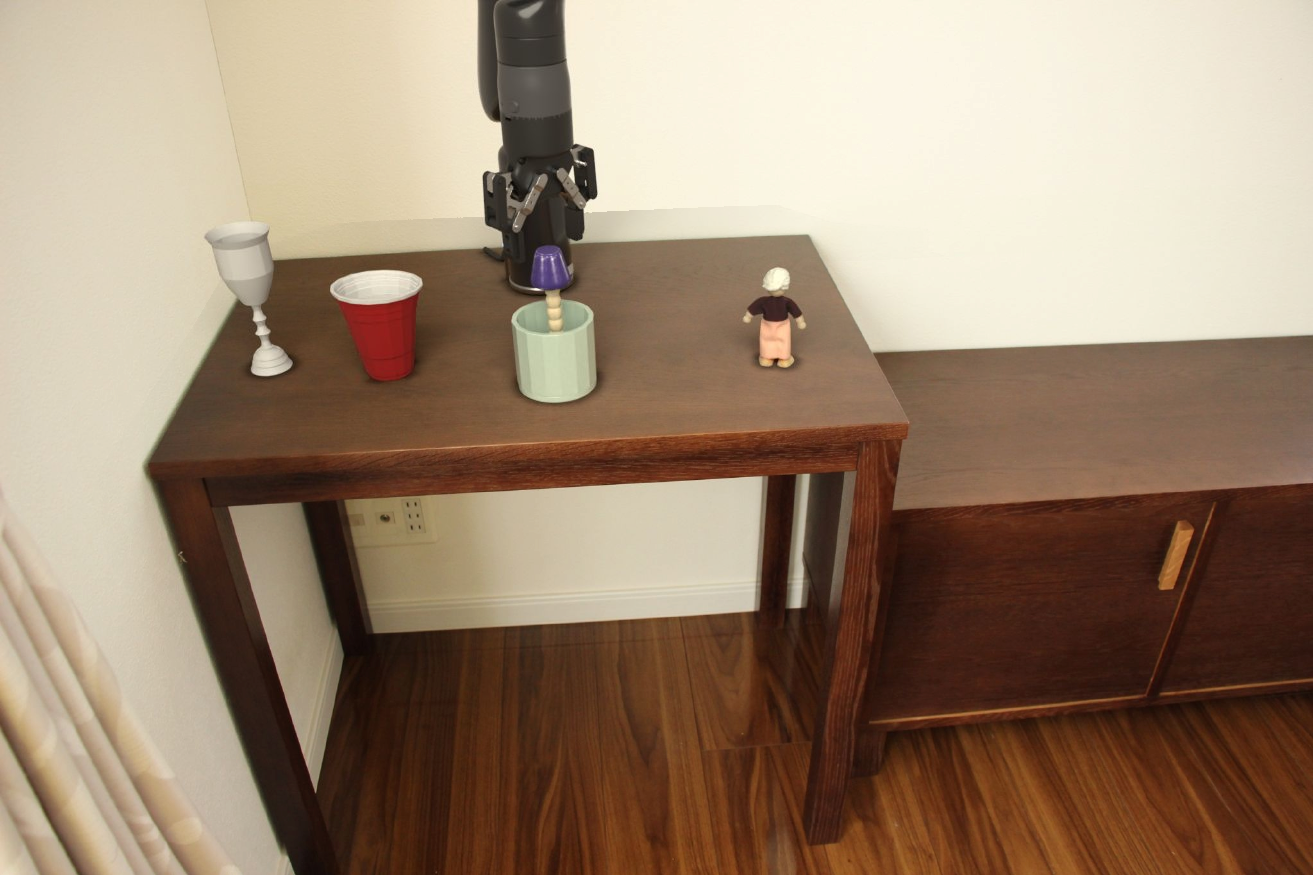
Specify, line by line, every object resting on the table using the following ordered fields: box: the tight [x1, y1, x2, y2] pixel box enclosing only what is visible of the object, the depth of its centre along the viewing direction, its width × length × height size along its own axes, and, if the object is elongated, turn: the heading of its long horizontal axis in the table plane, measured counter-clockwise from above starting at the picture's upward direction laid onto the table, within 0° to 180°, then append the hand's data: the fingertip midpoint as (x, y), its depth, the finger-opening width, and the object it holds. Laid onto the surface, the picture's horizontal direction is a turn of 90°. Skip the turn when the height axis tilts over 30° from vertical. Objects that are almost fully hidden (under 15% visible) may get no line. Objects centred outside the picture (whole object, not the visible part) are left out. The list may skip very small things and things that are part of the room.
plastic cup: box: [329, 269, 423, 382], centre depth 121 cm, size 11×11×12 cm
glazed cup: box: [510, 298, 598, 404], centre depth 119 cm, size 10×10×9 cm
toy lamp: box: [531, 245, 571, 333], centre depth 116 cm, size 5×5×17 cm
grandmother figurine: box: [742, 266, 807, 368], centre depth 122 cm, size 8×4×13 cm, turn 89°
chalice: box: [203, 220, 294, 377], centre depth 121 cm, size 7×7×18 cm
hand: (546, 249), depth 112 cm, fingers open, 8 cm apart
